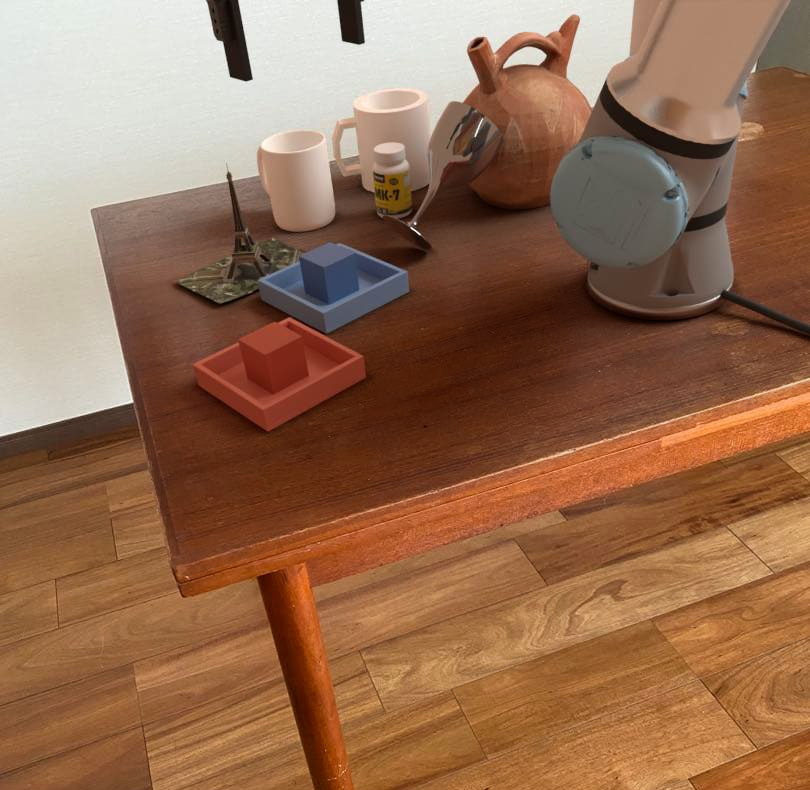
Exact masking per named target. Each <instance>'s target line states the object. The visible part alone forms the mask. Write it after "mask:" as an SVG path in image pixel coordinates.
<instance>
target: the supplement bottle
mask: <svg viewBox="0 0 810 790" xmlns="http://www.w3.org/2000/svg"><path fill="white" fill-rule="evenodd" d="M405 157H406V154H405V147H404V145H403V144H401V143H394V142H390V143H383V144H380V145H377V146H376V147H375V148H374V160H375V163H374V164H373V168H372V170H373V180H374V190H375V193H374V198H375V199H374V200H375V210H376V213H377V216H379V217H380V218H382V219H383V216H384V215H389V216H392V217H394V218H396V219H402V218H405V217H407V216H409V215H410V214H411V213H412V211H413V200H412V191H411V184H410V171H409V164H408V162H407V161H406V160H405Z"/></svg>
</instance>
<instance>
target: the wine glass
mask: <svg viewBox="0 0 810 790" xmlns="http://www.w3.org/2000/svg"><path fill="white" fill-rule="evenodd" d="M430 136H431V139H430V142H429V146H428V165H429V173H430V182H429V184H428V188H427V192H426V194H425V196H424V198H423V201H422V202H421V205H420V206H419V209H418V210H417V212H416V213H415V215H414V217H413V218H412V219H411V220H410V221H403V220H400V218H398V219H396V218H394V217H392V216H389V215H384V216H383V218H382V220H383V221H384V223H386V225H387V226H388V227H389V228H390V229H391V230H392V231H393V232H394V233H396V234H397V235H398V236H400V237H401V238H403V240H405V241H407V242H408V243H410V244H411V245H413V246H415V247H416V248H419V249H421V250H422V251H426V252H433V251H434V248H433V246H432V244H431V243H430V242H429V241H428V239H426V237H424V236H423V235H422V234H421V233H420V231H419V229H418V225H419V223H420V221H421V219H422V218H423V216H424V214H425V213H426V212H427V210H428V209H429V208H430V206H431V205H432V204H433V203H434V201H435V200H436V199H437V198H438V197H439V196H440V195H442V194H444V193H446V192H447V191H450V190H452V189H456V188H459V187H462V186H466V185H469V184H468V183H471V182H472V181H474V180H475V179H476V178H478V177H479V176H480V175H481V174H482V173H483V172H484V171H485V169H486V168H487V167H488V166H489V165H490V163H491V162H492V161H493V159H494V158H495V156H496V155H497V153H498V152H499V150H500V149H501V147H502V145H503V143H504V138H503V136H502V134H501V132H500V130H499V129H498V128H497V127H496V125H495V124H494V123H493V122H492V121H491V120H489V119H488V118H487V117H486V116H485V115H483V114H482V113H481V112H479V111H478V110H476V109H475V108H473V107H471V106H469V105H467V104H464V103H463V101H462V102H461V101H457V100H451V101H450V102H448V104H447V105H446V106H445V108H444V109H443V111H442V113H441V114H440V117H439V118H438V120H437V122H436V123H435V126H434V128H433V131H432V133H431V135H430Z"/></svg>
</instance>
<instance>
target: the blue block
mask: <svg viewBox="0 0 810 790" xmlns="http://www.w3.org/2000/svg"><path fill="white" fill-rule="evenodd" d="M299 261H300V267H301V272H302V278H303V284H304V289H305V293H306V294H308V295H310V296H312V297H314V298H316V299H318V300H320V301H322V302H325V303H327V304H329V305H330V304H332V303H334V302H336V301H338V300H340V299H342V298H344V297H346V296H348V295H350V294H352V293H354V292H356V291H358V290H359V283H358V275H357V267H356V259H355V253H354V252H352V251H349V250H347V249H345V248H342V247H340V246H337V245H336V244H335V243H333V242H330V241H329V242H327V243H324V244H322V245H320V246H318V247H315V248H313V249H312V250H309V251H307V252H305V253H304V254H302V255H300V256H299Z"/></svg>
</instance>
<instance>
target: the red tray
mask: <svg viewBox="0 0 810 790" xmlns="http://www.w3.org/2000/svg"><path fill="white" fill-rule="evenodd" d="M278 323H279V324H280V325H282V326H284V327H286V328H288V329H290V330H292V331H293V332H295V333H297V334H299V335H301V336H302V340H303V345H304V351H305V356H306V362H307V367H308V373H309V376H307V377H305V378H303V379H302V380H300V381H298V382H296V383H294V384H292V385H290V386H288V387H287V388H285V389H283V390H281V391H279V392H277V393H275V394H272V393H270V392H268V391H267V390H265V389H264V388H262V387H260V386H259V385H257V384H256V383H254V382H252V381H251V380H249V379H248V378H247V374H246V370H245V366H244V362H243V358H242V353H241V349H240V345H239V341H238V342H236V343H234V344H231V345H230V346H227V347H226V348H223V349H221V350H219V351H217V352H214V353H213V354H211V355H209V356H207V357H205V358H202V359H200V360H199V361H197V362H195V363H193V364H192V367H193V371H194V374H195V377H196V381H197V384H198V385H197V386H199V387H201V389H203V390H205V391H206V392H208V393H209V394H210V395H212V396H214V397H215V398H217V399H218V400H219V401H221V402H222V403H224V404H226V405H227V406H228V407H230V408H231V409H233V410H234V411H236V412H237V413H239V414H240V415H242V416H243V417H245V418H246V419H248V420H249V421H251V422H252V423H253V424H255V425H257V426H258V427H260V429H263V430H264V431H266V432H268V433H269V432H270V431H272V430H274V429H276V428H278V427H279V426H281V425H283V424H284V423H287V422H289V421H290V420H292V419H294V418H296V417H298V416H299V415H302V414H303V413H305V412H306V411H309V410H310V409H312V408H314V407H315V406H317V405H319V404H321V403H323V402H324V401H325V402H326V400H328V399H330V398H332V397H334V396H335V395H337V394H340V393H341V392H343V391H345V390H347V389H348V388H351V386H353V385H355V384H358V383H359V382H361V381H363V380H364V379H365V380H366V378H367V374H366V367H365V366H366V365H365V359H364V355H362V354H360V353H358V352H356V351H355V350H353V349H351V348H349V347H347V346H345V345H343V344H342V343H339V342H337V341H336V340H333V339H332V338H330V337H328V336H327V335H324V334H322V333H320V331H317V330H315V329H313V328H311V327H309V326H307V325H305V324H303V323H301V321H298V320H297V319H293V317H287V318H284V319H283V320H281V321H279V322H278Z"/></svg>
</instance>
